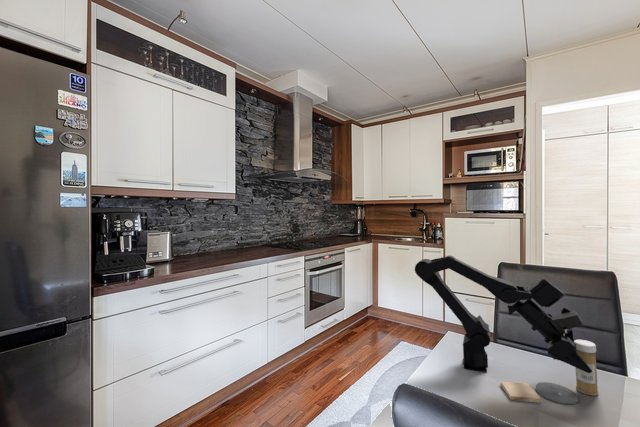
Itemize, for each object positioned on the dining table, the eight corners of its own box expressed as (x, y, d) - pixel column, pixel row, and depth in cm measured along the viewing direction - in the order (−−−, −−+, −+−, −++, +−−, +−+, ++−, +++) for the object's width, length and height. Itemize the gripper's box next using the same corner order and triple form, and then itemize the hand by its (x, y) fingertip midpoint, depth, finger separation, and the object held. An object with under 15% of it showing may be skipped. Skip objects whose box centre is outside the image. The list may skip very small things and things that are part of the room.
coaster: (541, 400, 77) (541, 397, 77) (531, 381, 85) (531, 379, 85) (584, 407, 73) (584, 405, 73) (570, 387, 82) (570, 385, 82)
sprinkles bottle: (600, 392, 79) (598, 342, 79) (595, 398, 77) (592, 347, 77) (578, 384, 83) (576, 337, 83) (573, 390, 80) (570, 341, 81)
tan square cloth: (510, 399, 77) (510, 396, 77) (500, 384, 84) (500, 381, 84) (540, 402, 76) (540, 398, 76) (528, 387, 83) (527, 383, 83)
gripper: (561, 309, 76) (624, 363, 69) (558, 293, 90) (610, 336, 83) (526, 333, 80) (581, 386, 73) (529, 314, 95) (575, 356, 88)
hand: (588, 364), depth 79 cm, fingers open, 9 cm apart
